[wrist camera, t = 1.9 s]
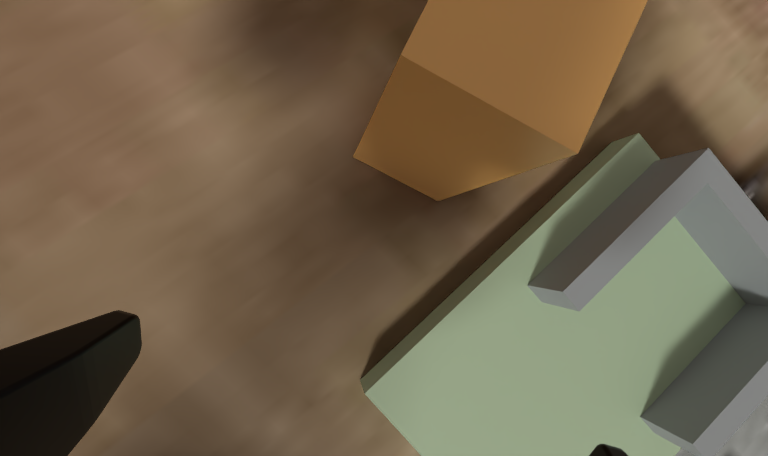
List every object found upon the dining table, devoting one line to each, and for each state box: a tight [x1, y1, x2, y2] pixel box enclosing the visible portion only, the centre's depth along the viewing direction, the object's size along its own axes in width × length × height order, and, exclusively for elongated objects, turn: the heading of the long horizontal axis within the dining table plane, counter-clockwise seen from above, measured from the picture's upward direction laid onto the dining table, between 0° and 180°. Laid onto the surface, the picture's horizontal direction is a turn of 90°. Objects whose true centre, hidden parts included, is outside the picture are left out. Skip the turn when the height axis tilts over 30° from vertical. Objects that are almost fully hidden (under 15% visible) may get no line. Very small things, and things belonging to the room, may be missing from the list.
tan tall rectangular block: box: [353, 0, 648, 201], centre depth 17 cm, size 4×4×12 cm
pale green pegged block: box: [360, 133, 768, 456], centre depth 21 cm, size 17×12×5 cm
